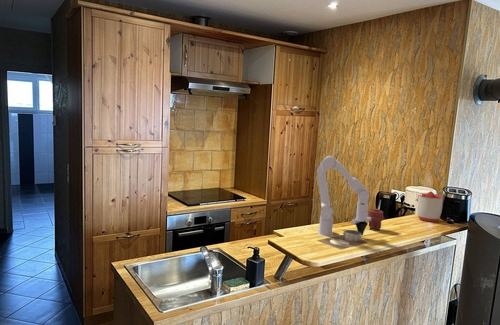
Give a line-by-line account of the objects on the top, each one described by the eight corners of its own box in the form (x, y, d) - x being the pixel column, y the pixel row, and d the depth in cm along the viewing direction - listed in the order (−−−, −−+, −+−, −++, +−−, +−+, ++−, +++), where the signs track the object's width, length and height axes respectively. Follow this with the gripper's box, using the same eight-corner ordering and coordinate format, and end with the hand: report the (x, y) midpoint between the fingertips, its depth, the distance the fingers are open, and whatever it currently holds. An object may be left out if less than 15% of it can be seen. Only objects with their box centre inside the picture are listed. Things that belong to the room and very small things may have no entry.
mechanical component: (386, 231, 219) (372, 232, 217) (376, 226, 229) (362, 227, 226) (388, 211, 218) (373, 211, 215) (378, 207, 228) (364, 207, 225)
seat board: (346, 235, 208) (346, 234, 208) (370, 243, 195) (370, 242, 195) (316, 241, 194) (316, 240, 194) (340, 250, 181) (340, 249, 181)
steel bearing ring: (350, 236, 205) (351, 228, 204) (364, 240, 197) (364, 233, 197) (339, 238, 199) (340, 231, 199) (353, 243, 192) (353, 235, 192)
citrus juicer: (419, 215, 265) (422, 188, 263) (445, 221, 252) (448, 192, 249) (409, 218, 255) (411, 189, 253) (434, 224, 242) (437, 194, 240)
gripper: (360, 213, 193) (358, 238, 195) (376, 210, 202) (374, 235, 203) (349, 210, 199) (347, 235, 201) (365, 208, 208) (363, 231, 209)
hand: (360, 235), depth 202 cm, fingers closed
